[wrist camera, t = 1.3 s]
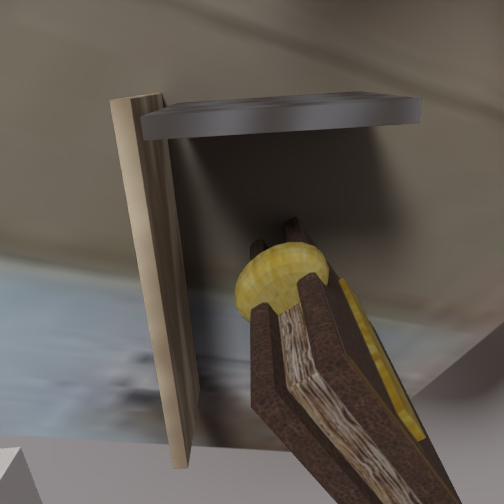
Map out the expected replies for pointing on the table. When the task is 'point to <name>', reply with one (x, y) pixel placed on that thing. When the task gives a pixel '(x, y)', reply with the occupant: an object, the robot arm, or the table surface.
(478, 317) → the table surface
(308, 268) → the book
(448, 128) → the table surface
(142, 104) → the shelf corner
